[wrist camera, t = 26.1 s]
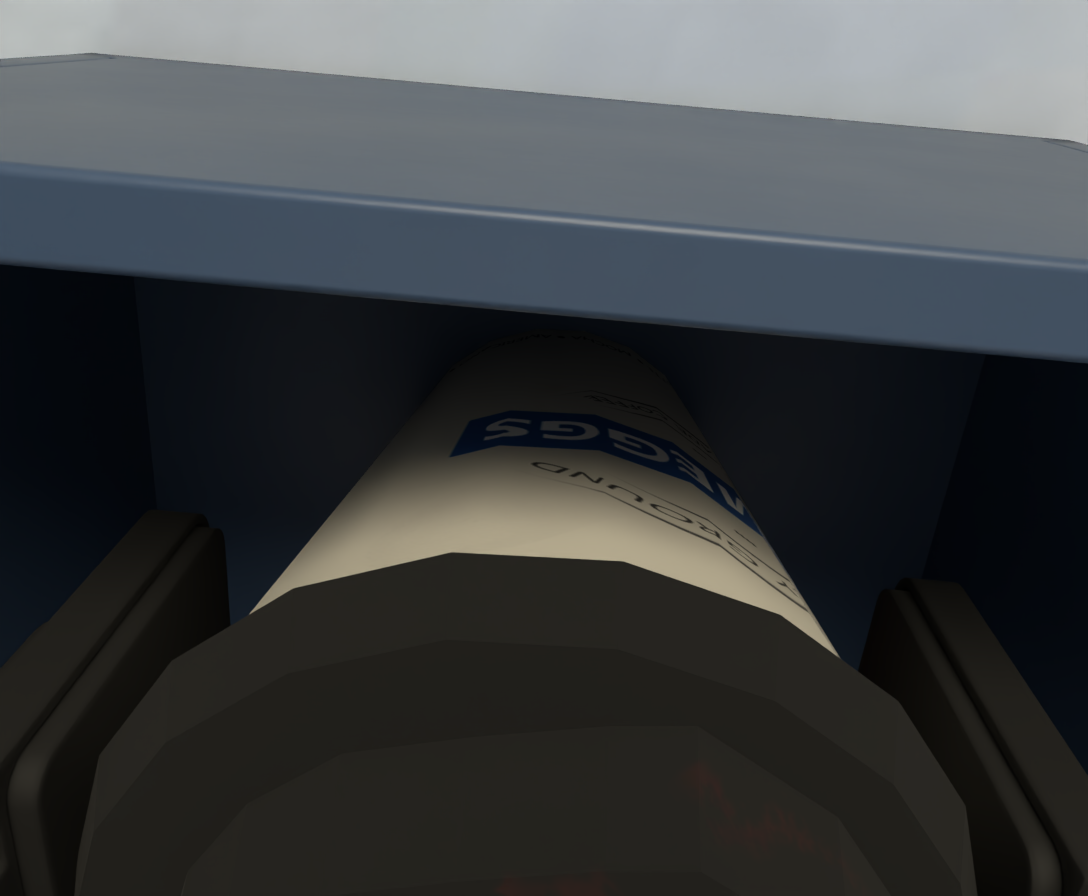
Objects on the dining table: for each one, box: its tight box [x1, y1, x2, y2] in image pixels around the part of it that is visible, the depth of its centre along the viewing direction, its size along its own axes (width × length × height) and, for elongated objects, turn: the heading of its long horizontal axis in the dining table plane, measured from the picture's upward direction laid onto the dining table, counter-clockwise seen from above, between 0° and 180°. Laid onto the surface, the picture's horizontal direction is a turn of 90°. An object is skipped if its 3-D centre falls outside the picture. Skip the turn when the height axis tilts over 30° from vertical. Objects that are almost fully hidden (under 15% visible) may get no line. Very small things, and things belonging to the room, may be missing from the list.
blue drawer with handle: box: [0, 53, 1088, 775], centre depth 12 cm, size 18×11×9 cm, turn 85°
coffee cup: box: [74, 329, 978, 896], centre depth 11 cm, size 7×7×10 cm
